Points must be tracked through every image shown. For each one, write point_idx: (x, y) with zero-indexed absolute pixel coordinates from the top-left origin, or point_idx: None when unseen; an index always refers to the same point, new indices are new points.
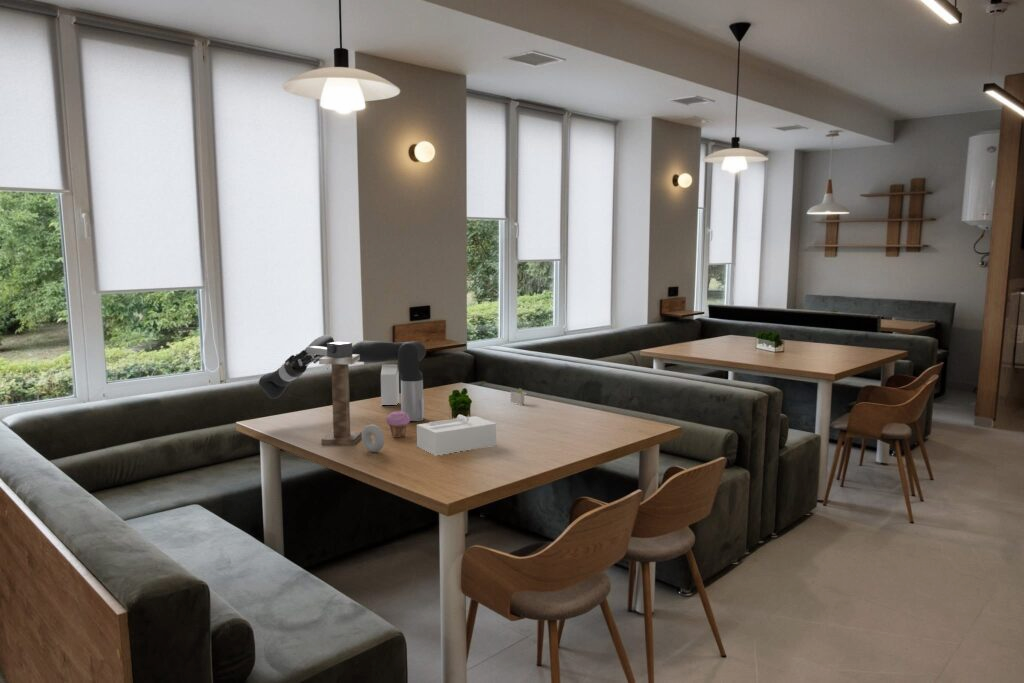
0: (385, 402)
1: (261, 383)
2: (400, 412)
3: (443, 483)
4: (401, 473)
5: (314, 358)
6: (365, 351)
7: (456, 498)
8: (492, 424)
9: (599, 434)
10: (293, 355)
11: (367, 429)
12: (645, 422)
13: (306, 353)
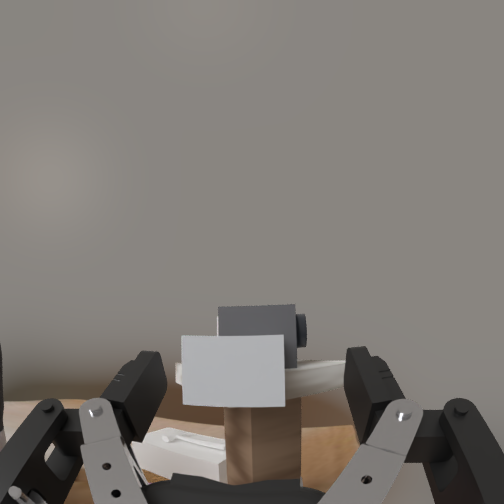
0: None
1: None
2: None
3: (323, 439)
4: (334, 459)
5: (146, 480)
6: None
7: (340, 426)
8: (173, 428)
9: None
10: (449, 404)
11: (302, 482)
12: (61, 401)
13: (347, 375)
